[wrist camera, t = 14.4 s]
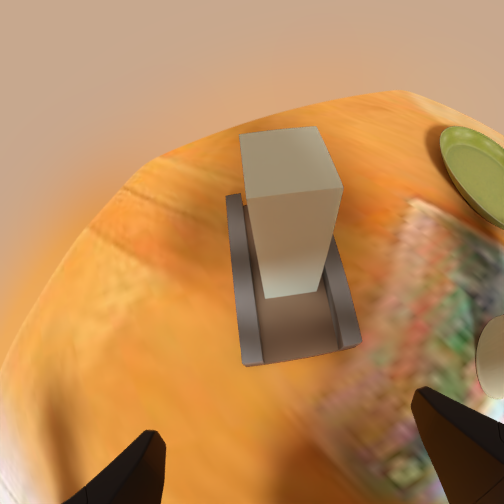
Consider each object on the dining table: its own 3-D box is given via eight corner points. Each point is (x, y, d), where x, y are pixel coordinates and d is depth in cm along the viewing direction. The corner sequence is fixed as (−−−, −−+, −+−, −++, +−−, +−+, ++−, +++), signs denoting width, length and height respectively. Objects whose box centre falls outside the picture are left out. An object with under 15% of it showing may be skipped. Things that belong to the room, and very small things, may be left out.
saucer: (441, 124, 35) (446, 111, 33) (526, 183, 28) (533, 172, 25) (421, 190, 28) (429, 172, 26) (530, 270, 21) (543, 259, 18)
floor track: (354, 347, 21) (362, 341, 19) (246, 366, 21) (241, 363, 19) (313, 198, 29) (315, 182, 27) (229, 211, 29) (225, 195, 27)
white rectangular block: (316, 291, 23) (343, 187, 12) (265, 298, 23) (246, 199, 12) (305, 242, 26) (316, 126, 14) (258, 248, 26) (239, 134, 14)
